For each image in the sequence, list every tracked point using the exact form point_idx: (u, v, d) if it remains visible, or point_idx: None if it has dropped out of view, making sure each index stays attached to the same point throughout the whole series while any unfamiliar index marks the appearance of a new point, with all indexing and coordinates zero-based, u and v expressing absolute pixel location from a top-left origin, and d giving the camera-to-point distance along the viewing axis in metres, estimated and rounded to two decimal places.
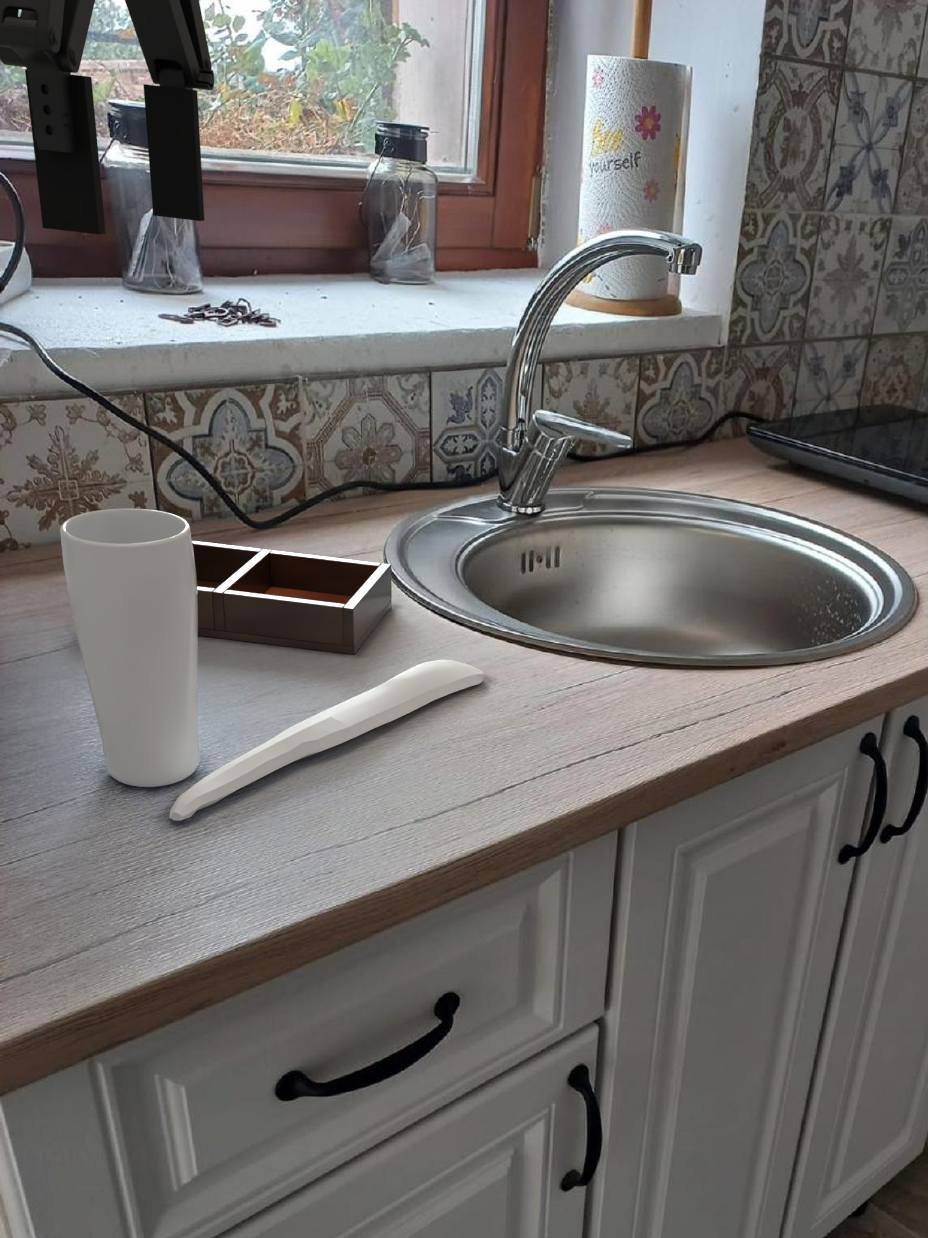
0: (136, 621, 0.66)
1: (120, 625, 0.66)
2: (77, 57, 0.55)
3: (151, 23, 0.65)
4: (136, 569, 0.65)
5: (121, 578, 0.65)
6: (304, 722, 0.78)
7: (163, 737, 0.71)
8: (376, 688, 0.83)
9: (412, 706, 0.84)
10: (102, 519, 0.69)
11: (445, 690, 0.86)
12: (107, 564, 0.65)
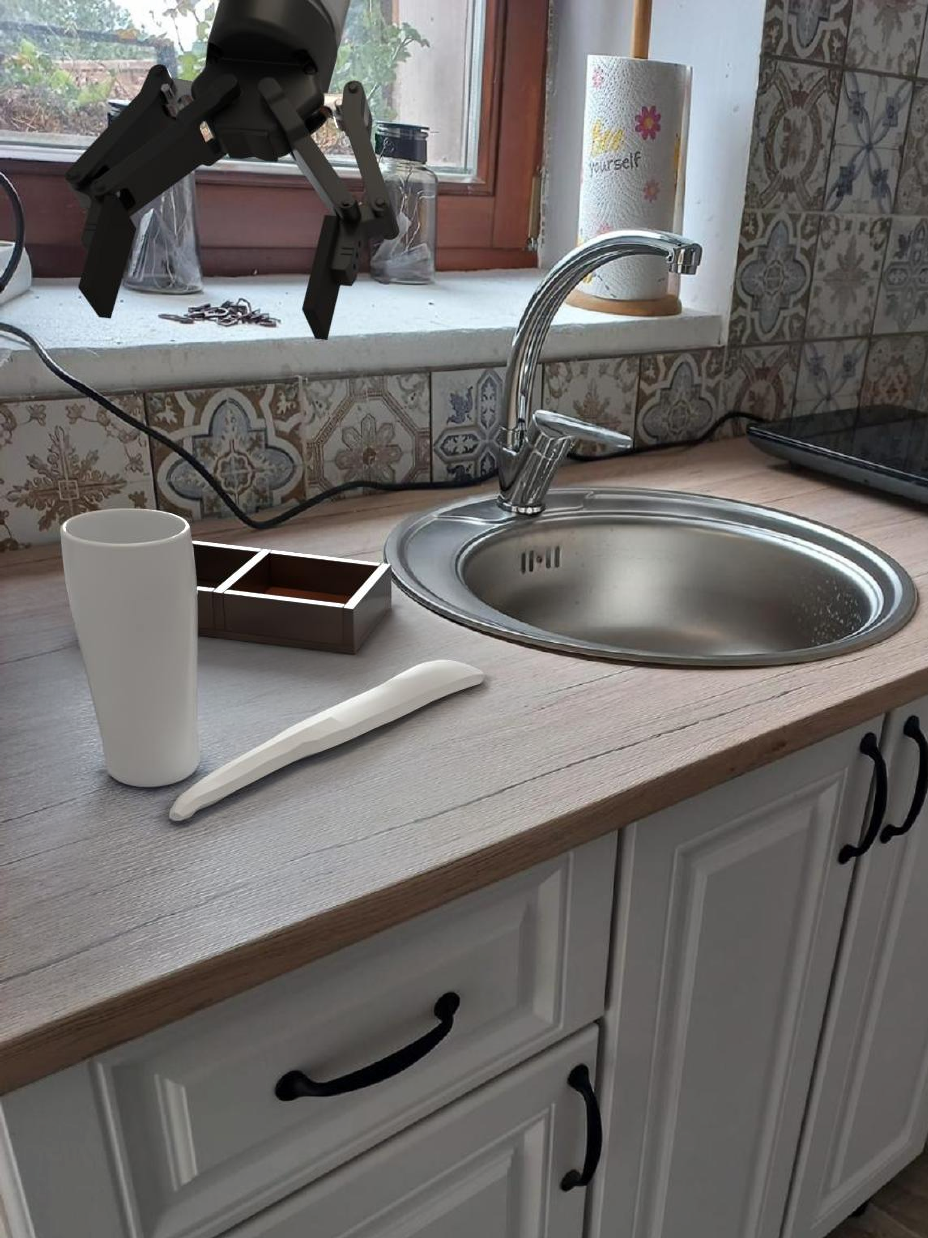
0: (136, 621, 0.66)
1: (120, 625, 0.66)
2: None
3: (157, 173, 0.76)
4: (136, 569, 0.65)
5: (121, 578, 0.65)
6: (304, 722, 0.78)
7: (163, 737, 0.71)
8: (376, 688, 0.83)
9: (412, 706, 0.84)
10: (102, 519, 0.69)
11: (445, 690, 0.86)
12: (107, 564, 0.65)
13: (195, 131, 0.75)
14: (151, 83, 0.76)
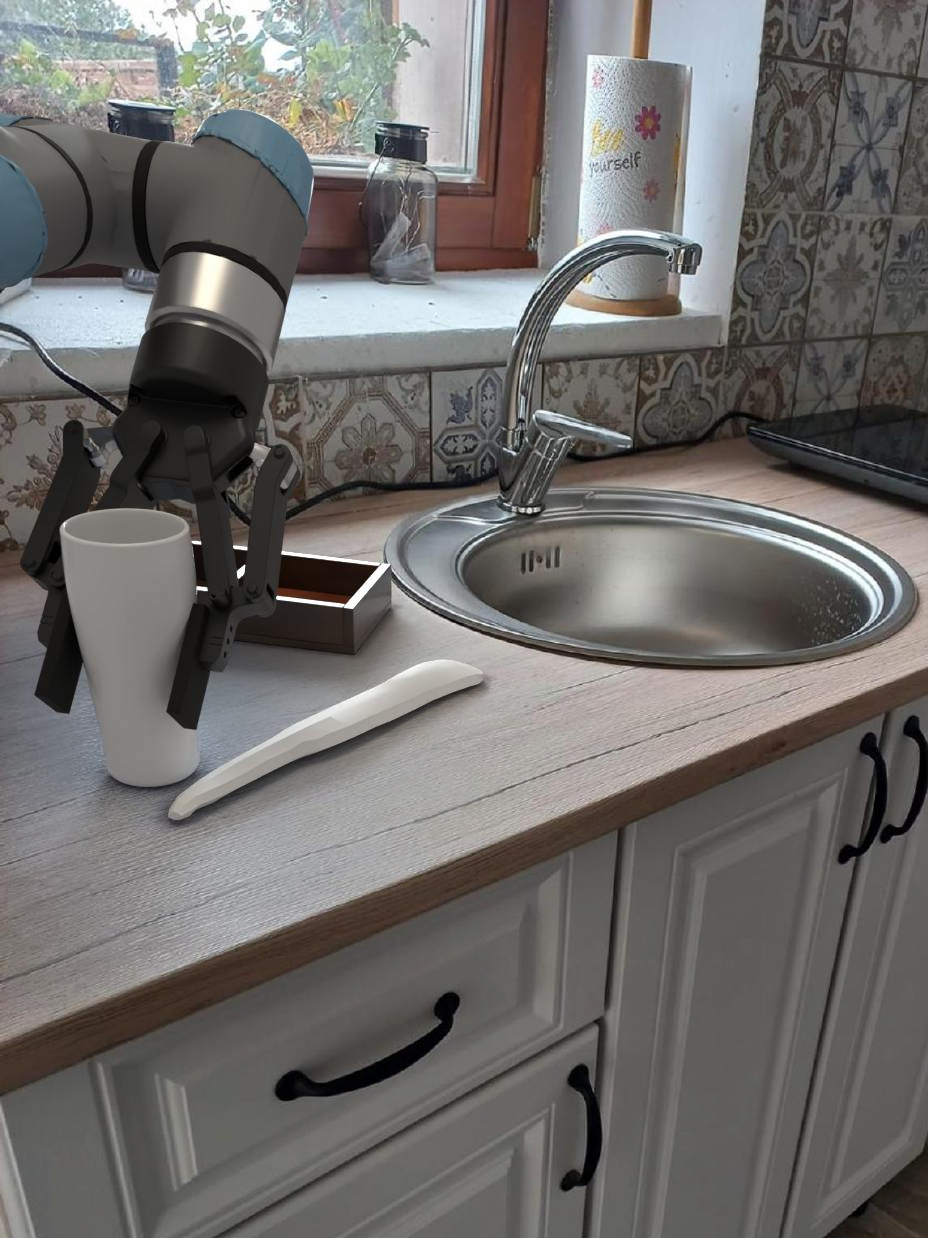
0: (136, 621, 0.66)
1: (120, 625, 0.66)
2: None
3: None
4: (135, 569, 0.65)
5: (120, 578, 0.65)
6: (303, 722, 0.78)
7: (163, 737, 0.71)
8: (375, 688, 0.83)
9: (411, 706, 0.84)
10: (102, 519, 0.69)
11: (444, 690, 0.86)
12: (107, 564, 0.65)
13: (133, 488, 0.71)
14: (71, 442, 0.72)
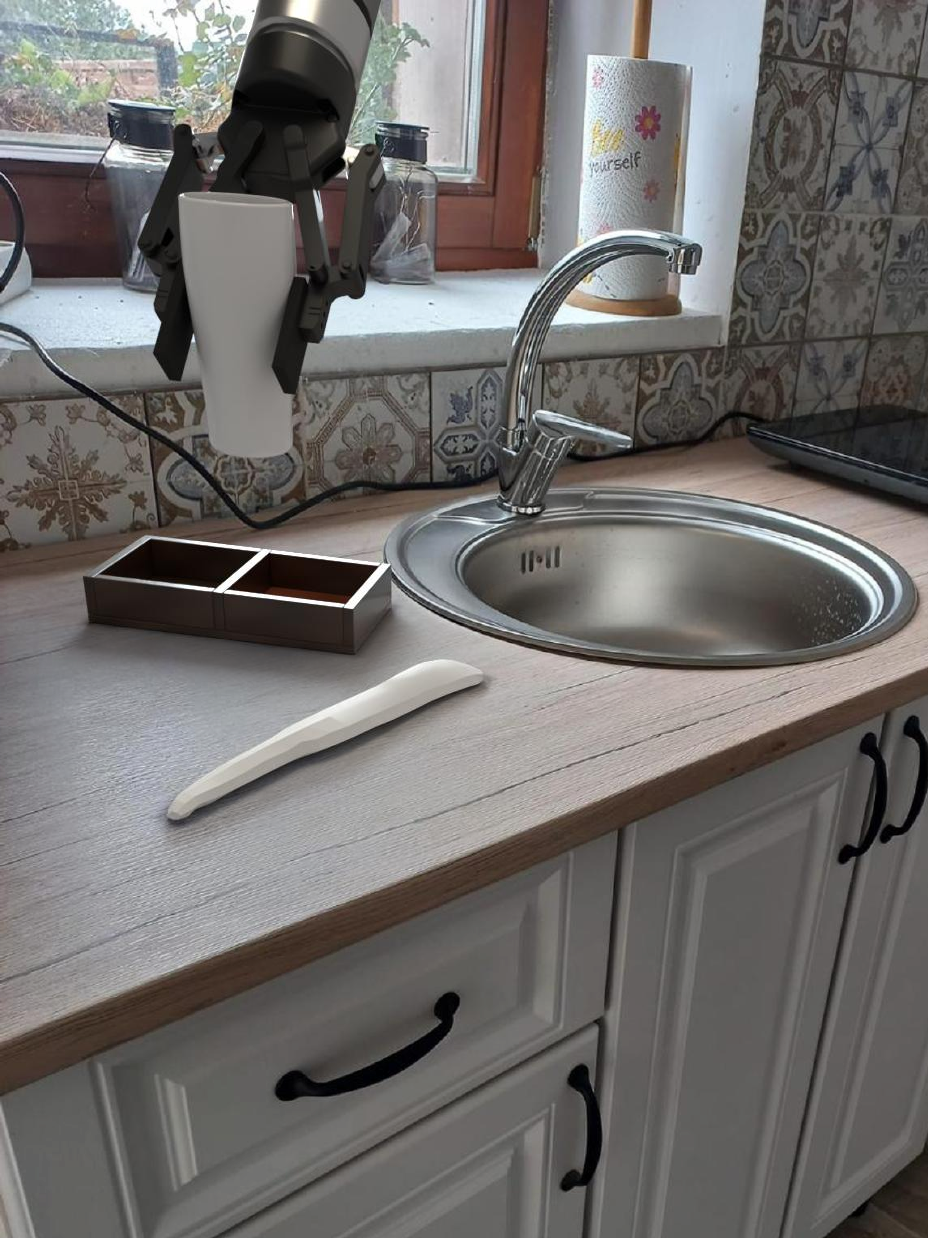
0: (245, 281, 0.74)
1: (231, 285, 0.74)
2: None
3: None
4: (247, 228, 0.73)
5: (234, 236, 0.73)
6: (303, 722, 0.78)
7: (264, 406, 0.78)
8: (375, 688, 0.83)
9: (411, 706, 0.84)
10: (212, 200, 0.77)
11: (444, 690, 0.86)
12: (222, 222, 0.72)
13: (238, 181, 0.79)
14: (181, 142, 0.79)
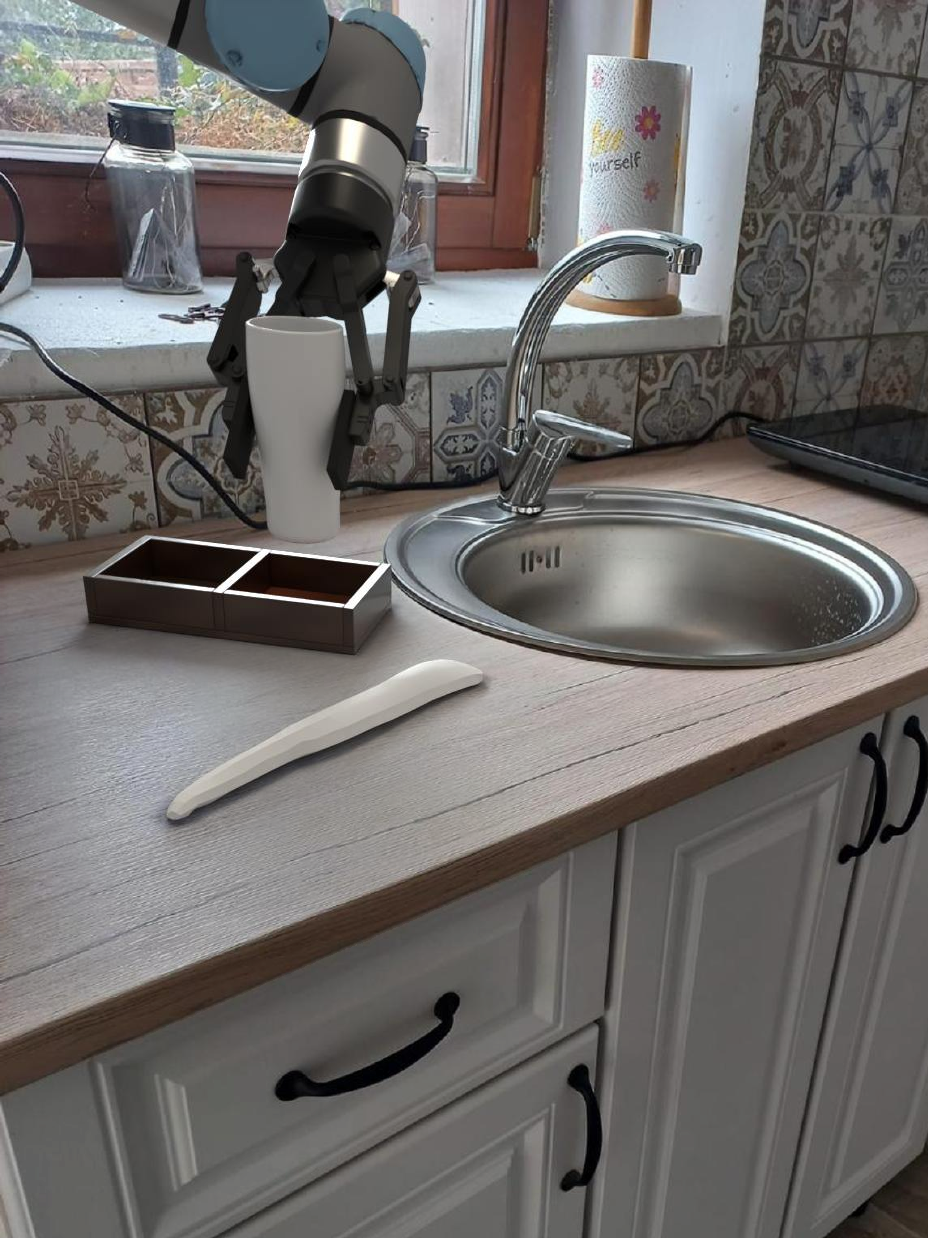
0: (304, 397, 0.85)
1: (291, 400, 0.85)
2: None
3: None
4: (306, 353, 0.84)
5: (295, 359, 0.84)
6: (302, 721, 0.78)
7: (317, 499, 0.90)
8: (375, 688, 0.83)
9: (411, 706, 0.84)
10: (272, 323, 0.88)
11: (444, 690, 0.86)
12: (285, 348, 0.84)
13: (293, 303, 0.90)
14: (242, 268, 0.91)
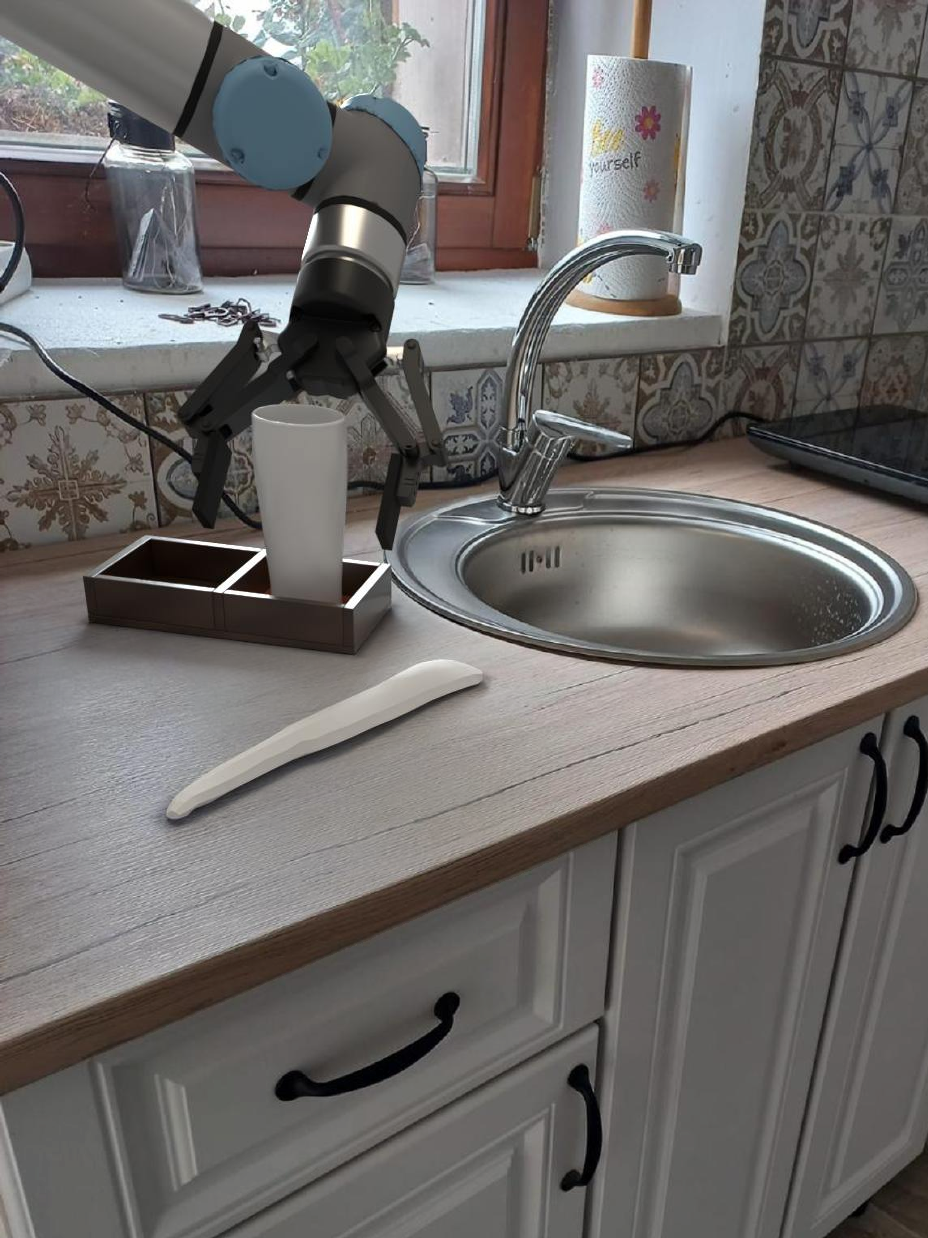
0: (307, 485, 0.88)
1: (296, 488, 0.88)
2: None
3: (250, 411, 0.93)
4: (310, 444, 0.87)
5: (299, 450, 0.87)
6: (302, 721, 0.78)
7: (320, 580, 0.93)
8: (374, 687, 0.83)
9: (410, 706, 0.84)
10: (277, 411, 0.91)
11: (444, 690, 0.86)
12: (289, 440, 0.87)
13: (282, 378, 0.93)
14: (245, 336, 0.94)
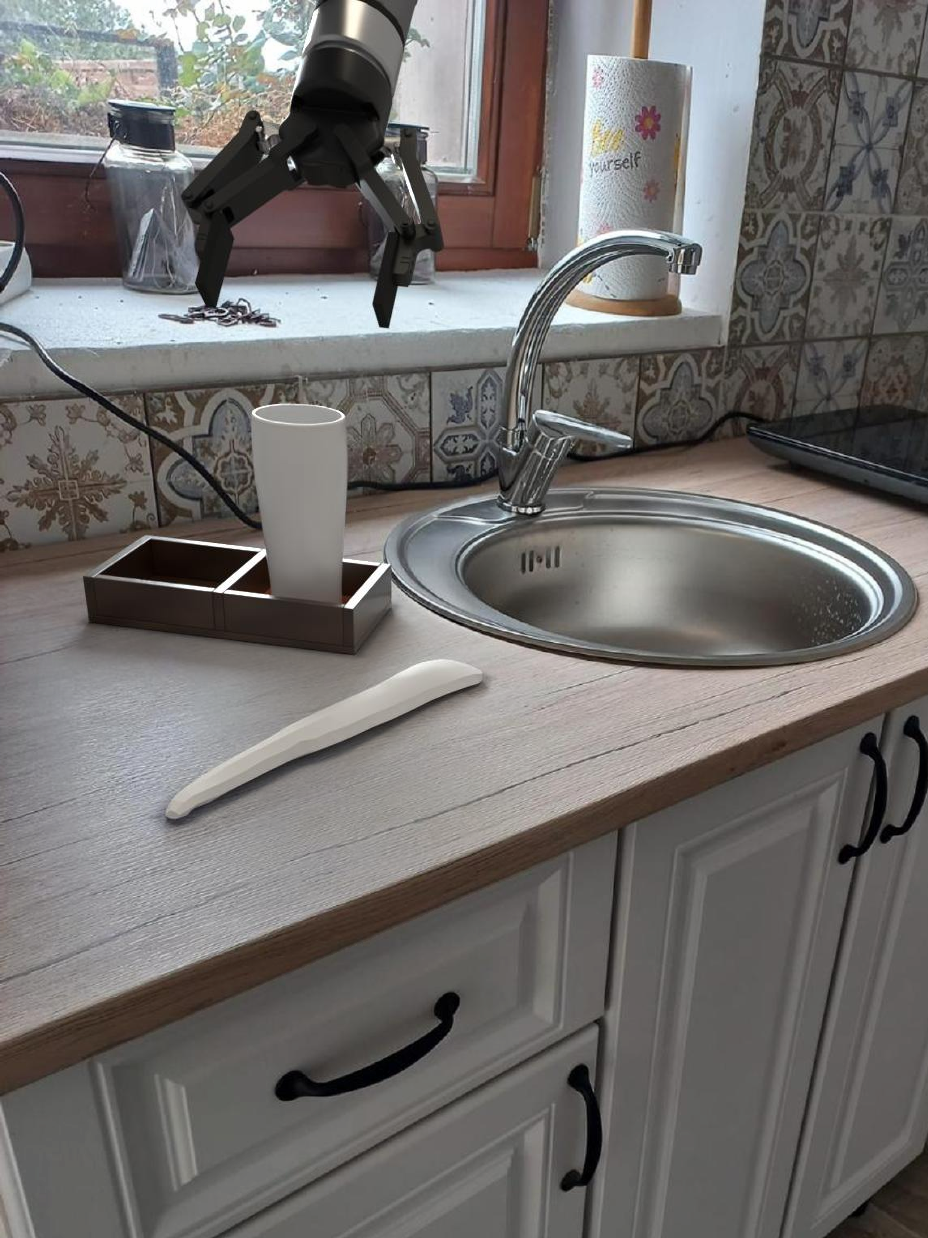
0: (307, 485, 0.88)
1: (295, 488, 0.88)
2: None
3: (252, 196, 0.96)
4: (310, 444, 0.87)
5: (299, 450, 0.87)
6: (301, 721, 0.78)
7: (320, 580, 0.93)
8: (374, 687, 0.83)
9: (410, 705, 0.84)
10: (277, 411, 0.91)
11: (443, 690, 0.86)
12: (289, 440, 0.87)
13: (283, 163, 0.96)
14: (247, 125, 0.97)
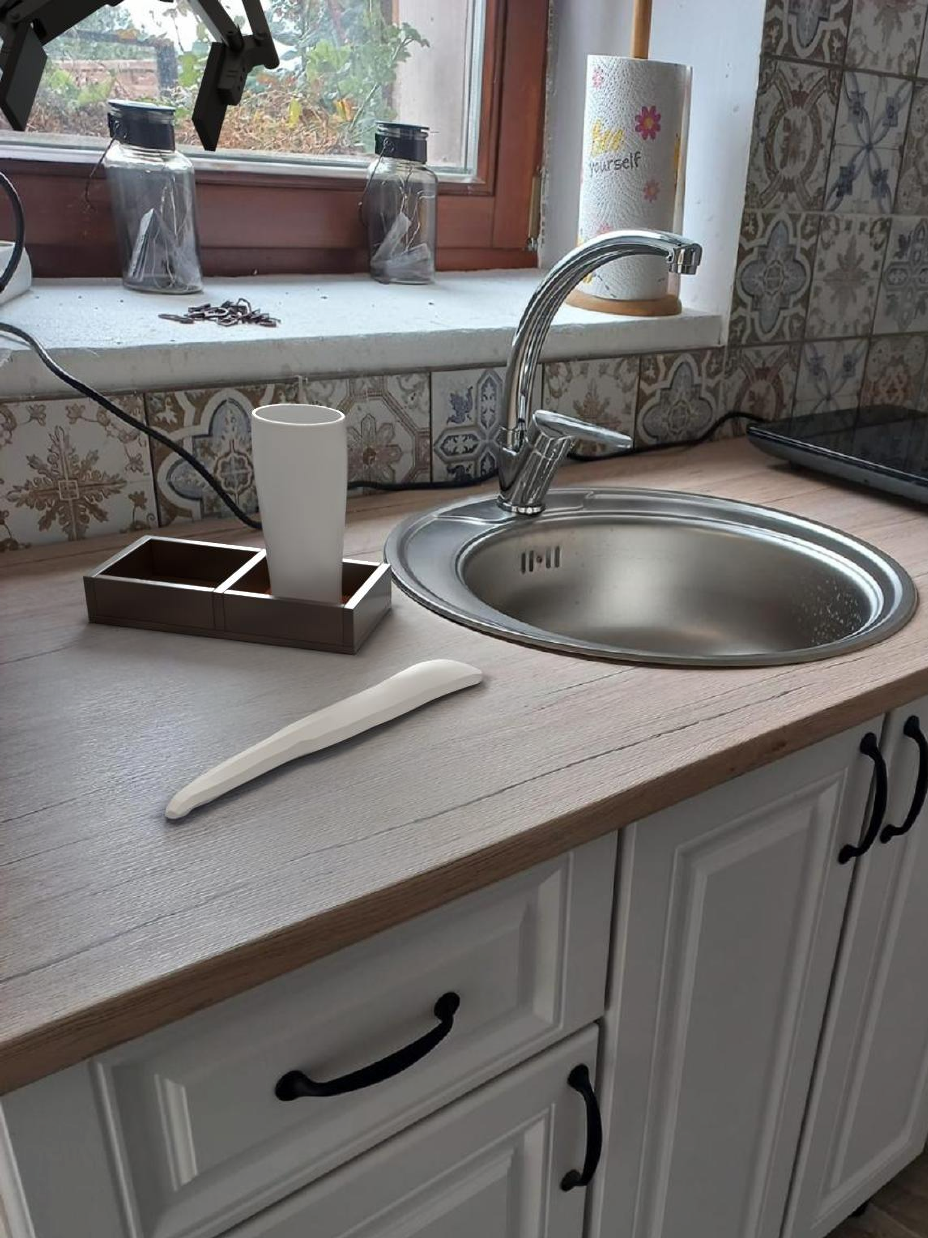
0: (307, 485, 0.88)
1: (295, 488, 0.88)
2: None
3: (66, 8, 0.87)
4: (310, 444, 0.87)
5: (299, 450, 0.87)
6: (301, 721, 0.78)
7: (320, 580, 0.93)
8: (374, 687, 0.83)
9: (410, 705, 0.84)
10: (277, 411, 0.91)
11: (443, 690, 0.86)
12: (289, 440, 0.87)
13: None
14: None
